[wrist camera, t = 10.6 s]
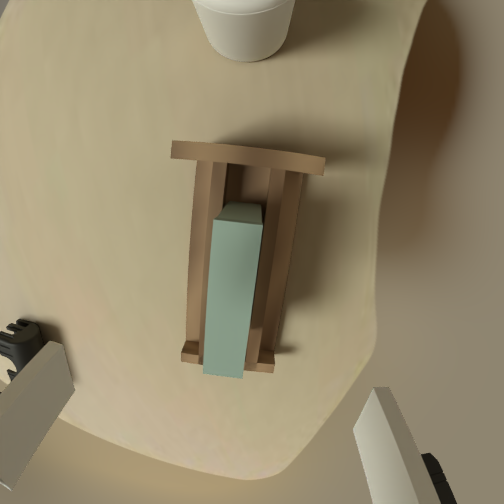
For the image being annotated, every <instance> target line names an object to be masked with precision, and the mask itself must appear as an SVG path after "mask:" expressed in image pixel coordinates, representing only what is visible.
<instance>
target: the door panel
mask: <svg viewBox="0 0 504 504" xmlns="http://www.w3.org/2000/svg"><path fill="white" fill-rule="evenodd" d="M262 229H263V223H262V214H261V205H260V204H252V203H243V202H235V201H229V202H228V203H227V205H226V206H225V207H224V208H223V210H222V211H221V212H220V214H219V215H218V216H217V217H215V218H214V220H213V230H212V241H211V253H210V265H209V278H208V292H207V307H206V323H205V340H204V360H203V374H210V375H217V376H225V377H233V378H241V379H242V377H243V369H244V362H245V355H246V348H247V341H248V333H249V326H250V319H251V311H252V304H253V297H254V289H255V282H256V274H257V267H258V259H259V252H260V244H261V236H262Z"/></svg>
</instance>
